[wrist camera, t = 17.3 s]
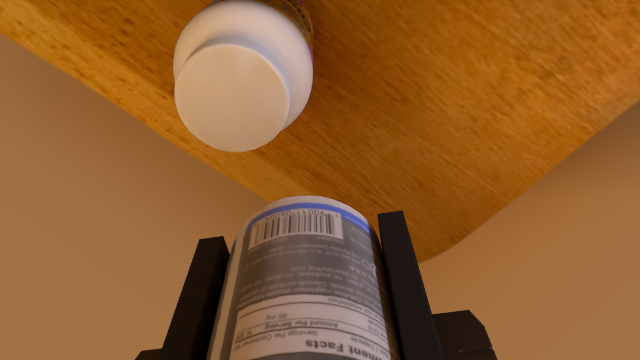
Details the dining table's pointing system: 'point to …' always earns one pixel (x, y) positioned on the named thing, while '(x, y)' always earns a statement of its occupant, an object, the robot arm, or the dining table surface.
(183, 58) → the supplement bottle
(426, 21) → the dining table surface
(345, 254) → the pill bottle
